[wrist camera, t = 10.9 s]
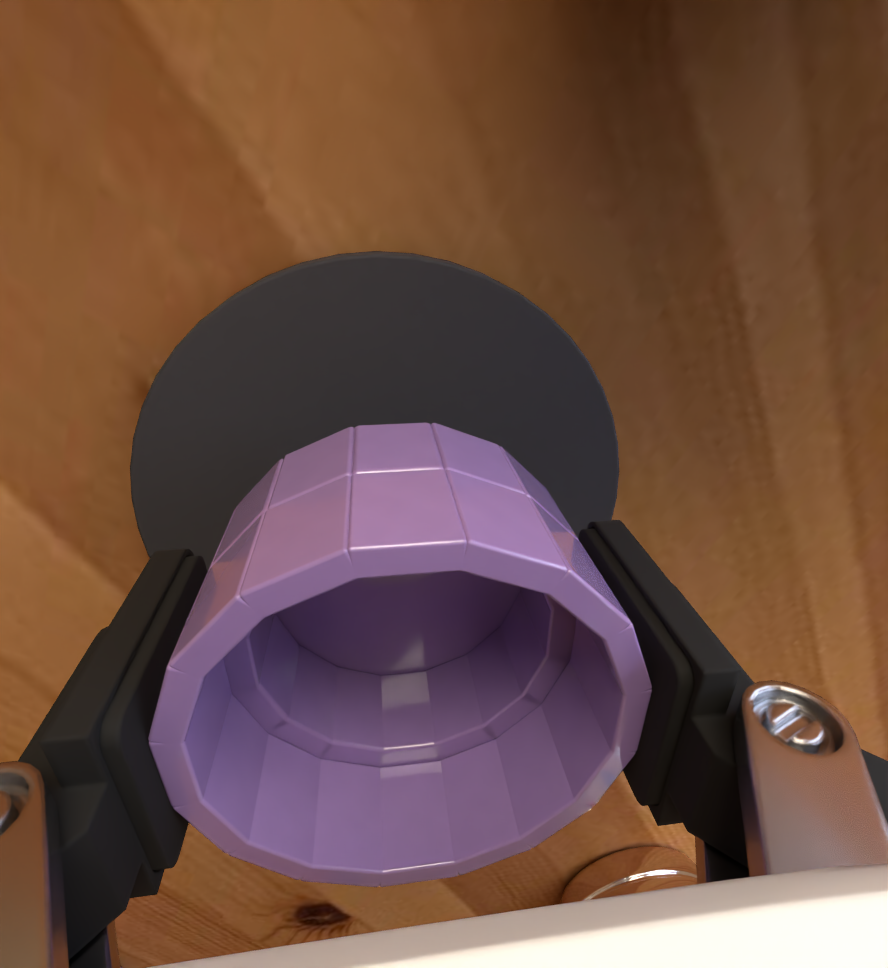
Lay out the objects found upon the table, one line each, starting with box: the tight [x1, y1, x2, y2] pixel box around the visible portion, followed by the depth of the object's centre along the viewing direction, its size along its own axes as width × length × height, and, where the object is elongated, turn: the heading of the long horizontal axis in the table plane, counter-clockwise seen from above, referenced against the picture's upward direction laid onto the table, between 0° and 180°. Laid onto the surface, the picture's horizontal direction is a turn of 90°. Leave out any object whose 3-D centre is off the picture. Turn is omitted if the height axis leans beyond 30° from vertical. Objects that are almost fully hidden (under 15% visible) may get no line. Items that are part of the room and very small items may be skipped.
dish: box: [148, 423, 652, 887], centre depth 10 cm, size 7×7×4 cm
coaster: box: [130, 251, 619, 572], centre depth 14 cm, size 12×12×1 cm
